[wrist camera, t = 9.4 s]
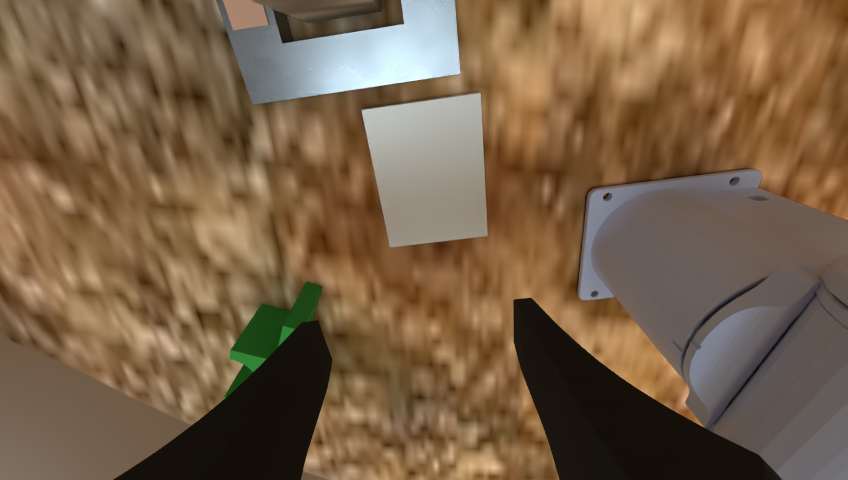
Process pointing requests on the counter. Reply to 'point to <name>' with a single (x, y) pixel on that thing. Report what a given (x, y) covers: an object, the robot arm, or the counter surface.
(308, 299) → the pipe clamp
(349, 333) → the counter surface
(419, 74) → the plate
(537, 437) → the counter surface
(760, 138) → the counter surface
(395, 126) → the white rectangular plate
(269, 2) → the birch peg
